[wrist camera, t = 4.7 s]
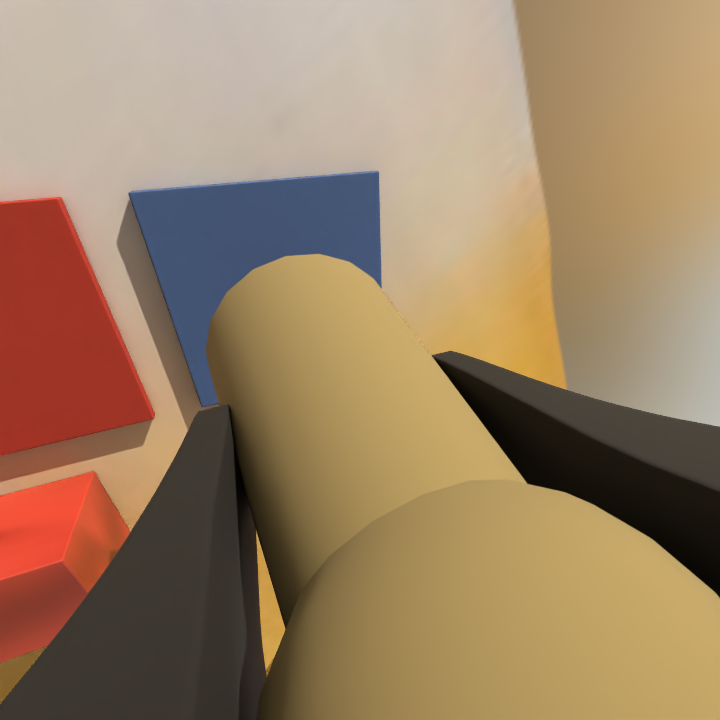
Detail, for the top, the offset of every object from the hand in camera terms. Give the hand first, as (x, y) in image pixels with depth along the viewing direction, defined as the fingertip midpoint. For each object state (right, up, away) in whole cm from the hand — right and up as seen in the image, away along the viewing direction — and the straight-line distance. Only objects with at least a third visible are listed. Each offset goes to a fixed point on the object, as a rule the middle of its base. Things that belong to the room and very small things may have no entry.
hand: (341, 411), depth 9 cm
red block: (-14, -6, +8) cm, 17 cm away
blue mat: (-3, +4, +7) cm, 9 cm away
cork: (-1, +2, +3) cm, 4 cm away
